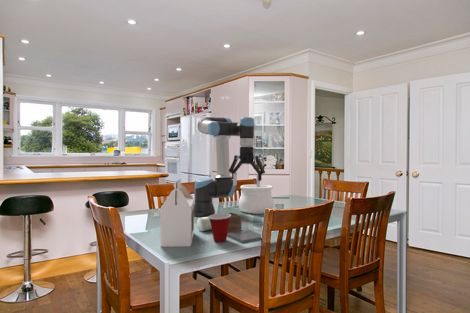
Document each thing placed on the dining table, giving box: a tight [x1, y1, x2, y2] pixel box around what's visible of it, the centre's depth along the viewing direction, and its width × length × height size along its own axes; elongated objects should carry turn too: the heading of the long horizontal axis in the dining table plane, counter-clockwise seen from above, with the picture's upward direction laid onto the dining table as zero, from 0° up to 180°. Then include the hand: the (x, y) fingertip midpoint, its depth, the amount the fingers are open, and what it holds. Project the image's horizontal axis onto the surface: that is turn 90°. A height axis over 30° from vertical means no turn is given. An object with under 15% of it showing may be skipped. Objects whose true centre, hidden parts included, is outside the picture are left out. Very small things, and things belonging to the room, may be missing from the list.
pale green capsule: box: [196, 217, 212, 232], centre depth 165 cm, size 9×7×7 cm
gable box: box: [160, 178, 195, 248], centre depth 147 cm, size 22×13×28 cm, turn 4°
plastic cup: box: [208, 213, 231, 243], centre depth 146 cm, size 11×11×12 cm
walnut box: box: [226, 212, 243, 233], centre depth 165 cm, size 9×9×8 cm
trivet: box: [227, 229, 262, 244], centre depth 152 cm, size 14×14×1 cm
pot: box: [238, 183, 275, 215], centre depth 217 cm, size 26×24×18 cm
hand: (246, 186), depth 167 cm, fingers open, 13 cm apart
